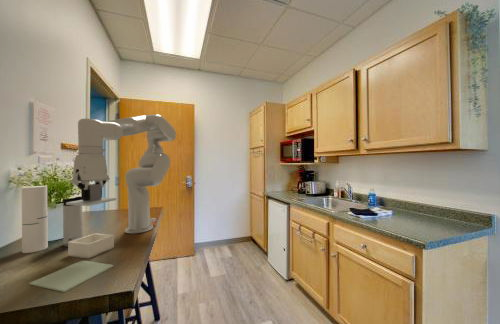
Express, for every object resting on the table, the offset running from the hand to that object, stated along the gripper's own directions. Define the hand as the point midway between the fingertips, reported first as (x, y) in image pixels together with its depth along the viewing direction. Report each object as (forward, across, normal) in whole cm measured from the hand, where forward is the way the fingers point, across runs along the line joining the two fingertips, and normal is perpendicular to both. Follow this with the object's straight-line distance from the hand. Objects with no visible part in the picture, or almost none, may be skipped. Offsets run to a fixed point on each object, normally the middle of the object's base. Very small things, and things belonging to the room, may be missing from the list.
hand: (92, 198), depth 80 cm
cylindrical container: (+21, +4, -25) cm, 33 cm away
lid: (+1, 0, 0) cm, 1 cm away
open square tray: (+20, 0, 0) cm, 20 cm away
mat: (+20, +14, +12) cm, 28 cm away
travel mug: (+21, -4, -16) cm, 26 cm away
